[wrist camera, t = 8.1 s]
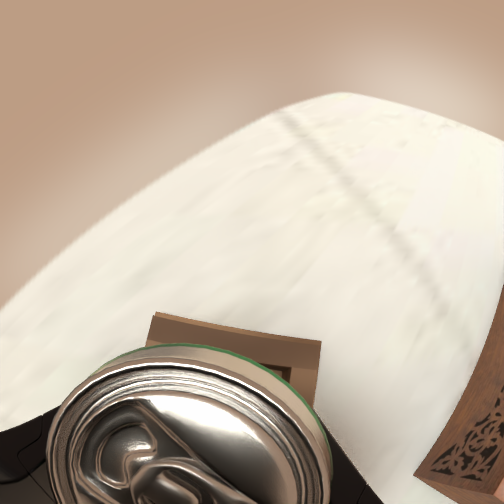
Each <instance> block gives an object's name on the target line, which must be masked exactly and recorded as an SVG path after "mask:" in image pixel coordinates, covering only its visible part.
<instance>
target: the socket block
mask: <svg viewBox="0 0 504 504" xmlns="http://www.w3.org/2000/svg"><path fill="white" fill-rule="evenodd" d="M172 343H188V344H198V345H207V346H211V347H215V348H220V349H224V350H228V351H231V352H234V353H236V354H239V355H241V356H244V357H247V358H249V359H251V360H253V361H255V362H257V363H259V364H260V365H262V366H264V367H266V368H268V369H270V370H271V371H273V372H274V373H275V374H277V375H278V376H279V377H281V378H282V379H283V380H285V381H286V382H287V383H289V384H290V385H291V386H292V387H293V388H294V389H295V390H296V391H297V392H298V393H299V394H300V395H301V396H302V397H303V398H304V399H305V401H306V402H307V404H308V405H309V406H310V408H312V409H313V403H314V397H315V390H316V382H317V375H318V367H319V359H320V350H321V341H317V340H309V339H302V338H295V337H288V336H281V335H274V334H268V333H262V332H256V331H250V330H244V329H238V328H233V327H227V326H222V325H217V324H212V323H207V322H202V321H197V320H192V319H187V318H183V317H178V316H173V315H169V314H165V313H160V312H156V313H155V316H154V315H153V317H152V321H151V325H150V329H149V333H148V337H147V341H146V345H145V347H148V346H153V345H158V344H172Z"/></svg>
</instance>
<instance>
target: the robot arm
mask: <svg viewBox="0 0 504 504" xmlns="http://www.w3.org/2000/svg"><path fill="white" fill-rule="evenodd" d="M60 406H61V405H60ZM60 406H58V407H56V408H54V409H52V410H50V411H48V412H46V413H44V414H43V416H42V415H40V416H38V417H36V418H34V419H32V420H30V421H28V422H26V423H23V424H21V425H19V426H16V427H13V428H11V429H8V430H5V431H2V432H0V504H56V502H55V499H54V496H53V494H52V491H51V488H50V484H49V480H48V475H47V470H46V446H47V439H48V433H49V430H50V427H51V424H52V421H53V419H54V416H55V415H56V413H57V411H58V409H59V408H60ZM311 409H312V408H311ZM312 410H313V412H314V413H315V414H316V412H315V411H314V409H312ZM316 416H317V418H318V420H319V422H320V424H321V426H322V428H323V430H324V432H325V434H326V437H327V440H328V443H329V447H330V450H331V455H332V464H333V480H332V490H331V494H330V501H329V504H384V503H383V502H382V501H381V500H380V499H379V497H378V496H377V495H376V494H375V493H374V491H373V490H372V489H371V487H370V486H369V485H368V484H367V482H366V481H365V480H364V478H363V477H362V476H361V474H360V473H359V472H358V470H357V469H356V468H355V466H354V465H353V464H352V462H351V461H350V460H349V458H348V457H347V456H346V454H345V453H344V451H343V450H342V449H341V447H340V446H339V445H338V443H337V442H336V440H335V439H334V438H333V436H332V435H331V433H330V432H329V431H328V429H327V428H326V426H325V425H324V424H323V422H322V421H321V419H320V418H319V417H318V415H317V414H316ZM366 484H367V485H366Z"/></svg>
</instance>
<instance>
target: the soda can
mask: <svg viewBox="0 0 504 504" xmlns="http://www.w3.org/2000/svg"><path fill="white" fill-rule="evenodd" d="M46 470H47V475H48V480H49V484H50V488H51V491H52V494H53V496H54V499H55V502H56V504H329V501H330V494H331V490H332V480H333V464H332V455H331V450H330V447H329V443H328V440H327V437H326V434H325V432H324V430H323V428H322V426H321V424H320V422H319V420H318V418H317V416H316V414H315V413H314V412H313V410H312V409H311V408H310V406H309V405H308V404H307V402H306V401H305V399H304V398H303V397H302V396H301V395H300V394H299V393H298V392H297V391H296V390H295V389H294V388H293V387H292V386H291V385H290V384H289V383H287V382H286V381H285V380H283V379H282V378H281V377H279V376H278V375H277V374H275V373H274V372H273V371H271V370H270V369H268V368H266V367H264V366H262V365H260V364H259V363H257V362H255V361H253V360H251V359H249V358H247V357H244V356H241V355H239V354H236V353H234V352H231V351H228V350H224V349H220V348H215V347H211V346H207V345H198V344H188V343H172V344H158V345H153V346H148V347H142V348H139V349H136V350H133V351H130V352H127V353H125V354H122V355H120V356H118V357H116V358H114V359H113V360H111V361H109V362H107V363H105V364H104V365H103V366H101V367H100V368H99V369H97V370H96V371H95V372H94V373H92V374H91V375H90V376H89V377H88V378H87V379H86V380H85V381H84V382H82V383H81V384H80V385H78V386H77V387H76V388H75V389H74V390H73V391H72V392H71V393H70V394H69V395H68V397H67V398H66V399H65V400H64V401H63V402H62V404H61V406H60V408H59V409H58V411H57V413H56V415H55V416H54V419H53V421H52V424H51V427H50V430H49V433H48V439H47V446H46Z"/></svg>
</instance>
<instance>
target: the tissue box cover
mask: <svg viewBox="0 0 504 504" xmlns="http://www.w3.org/2000/svg"><path fill="white" fill-rule="evenodd" d="M413 475H414V476H415V477H417V478H419V479H420V480H422V481H423V482H425V483H426V484H428V485H429V486H431V487H432V488H434V489H436V490H437V491H439V492H440V493H442V494H444V495H445V496H447V497H448V498H450V499H452V500H453V501H455V502H457V503H459V504H504V285H503V288H502V292H501V296H500V300H499V303H498V306H497V310H496V313H495V316H494V319H493V322H492V325H491V328H490V331H489V334H488V337H487V340H486V342H485V345H484V348H483V350H482V353H481V355H480V358H479V360H478V362H477V365H476V367H475V369H474V372H473V374H472V376H471V378H470V380H469V383H468V385H467V387H466V389H465V391H464V393H463V395H462V397H461V399H460V401H459V403H458V405H457V406H456V408H455V410H454V412H453V414H452V416H451V417H450V419H449V421H448V423H447V424H446V426H445V428H444V429H443V431H442V433H441V434H440V436H439V438H438V439H437V441H436V442H435V444H434V445H433V447H432V448H431V450H430V452H429V453H428V454H427V456H426V457H425V459H424V460H423V462H422V463H421V464H420V466H419V467H418V469H417V470H416V471H415V473H414V474H413Z"/></svg>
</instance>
